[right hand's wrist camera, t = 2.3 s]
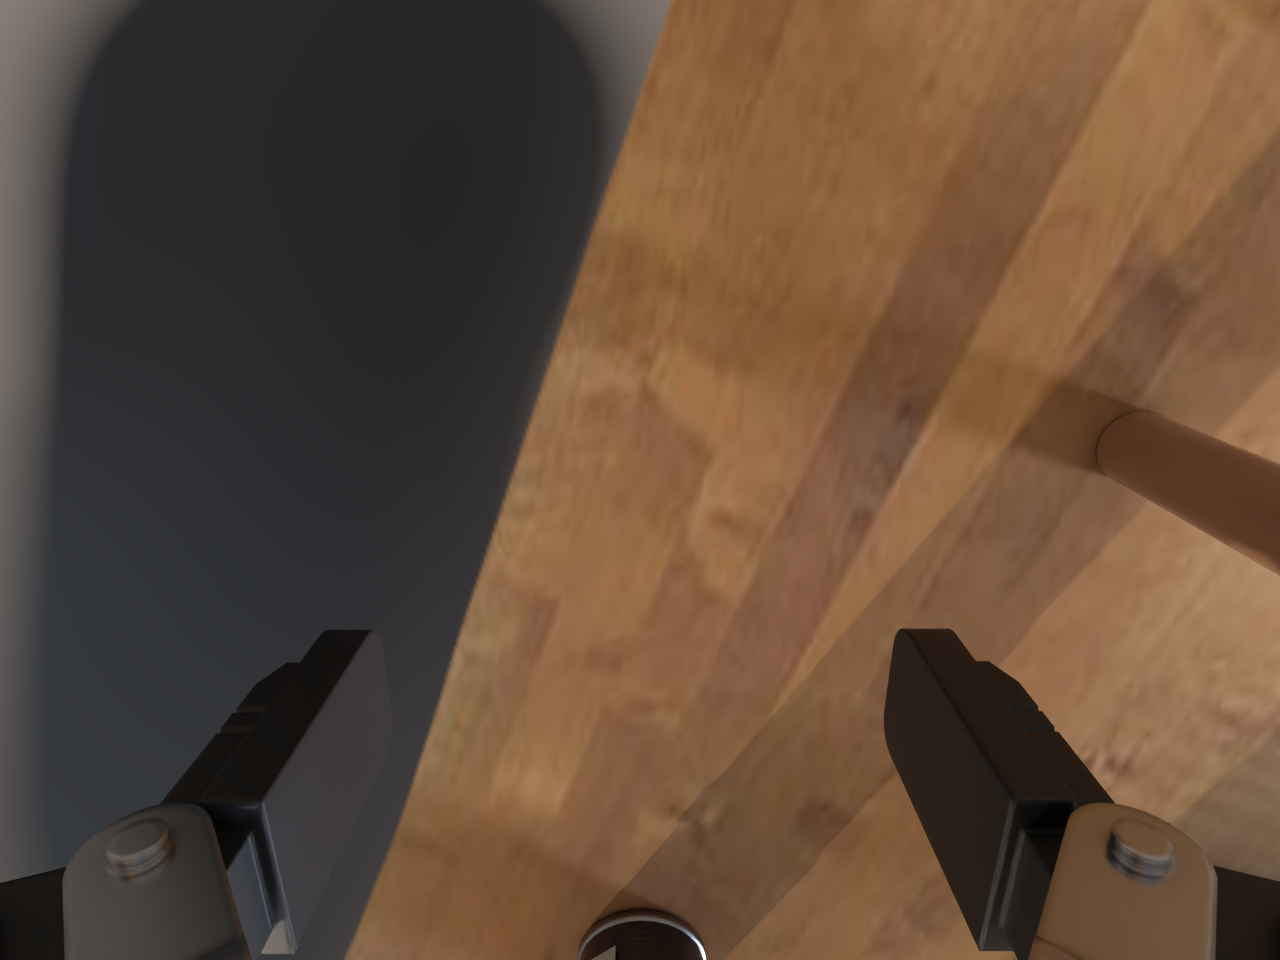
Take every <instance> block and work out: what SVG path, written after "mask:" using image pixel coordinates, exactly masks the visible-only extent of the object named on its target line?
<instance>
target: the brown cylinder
mask: <svg viewBox="0 0 1280 960" xmlns="http://www.w3.org/2000/svg"><path fill="white" fill-rule="evenodd" d="M1096 457H1097V462H1098V465H1099V467H1100V469H1101V470H1102V471H1103V473H1104V474H1106V475H1107V476H1108V477H1110V478H1112V479H1113V480H1115V481H1117V482H1118V483H1120V484H1122V485H1124V486H1125V487H1127V488H1129V489H1131V490H1132V491H1134V492H1136V493H1137V494H1139V495H1141V496H1143V497H1144V498H1146V499H1148V500H1149V501H1151V502H1153V503H1155V504H1156V505H1158V506H1160V507H1162V508H1163V509H1165V510H1167V511H1168V512H1170V513H1172V514H1174V515H1175V516H1177V517H1179V518H1181V519H1182V520H1184V521H1186V522H1187V523H1189V524H1191V525H1193V526H1194V527H1196V528H1198V529H1199V530H1201V531H1203V532H1205V533H1206V534H1208V535H1210V536H1212V537H1213V538H1215V539H1217V540H1218V541H1220V542H1222V543H1224V544H1225V545H1227V546H1229V547H1231V548H1232V549H1234V550H1236V551H1237V552H1239V553H1241V554H1243V555H1244V556H1246V557H1248V558H1249V559H1251V560H1253V561H1255V562H1256V563H1258V564H1260V565H1262V566H1263V567H1265V568H1267V569H1268V570H1270V571H1272V572H1274V573H1275V574H1277V575H1279V576H1280V464H1279V463H1277V462H1274V461H1272V460H1269V459H1267V458H1264V457H1262V456H1259V455H1257V454H1254V453H1252V452H1249V451H1247V450H1244V449H1242V448H1240V447H1237V446H1235V445H1232V444H1230V443H1227V442H1225V441H1222V440H1220V439H1217V438H1215V437H1212V436H1210V435H1207V434H1205V433H1202V432H1200V431H1198V430H1195V429H1193V428H1190V427H1188V426H1185V425H1183V424H1180V423H1178V422H1175V421H1173V420H1170V419H1168V418H1165V417H1163V416H1160V415H1158V414H1155V413H1152V412H1148V411H1138V412H1132V413H1129V414H1126V415H1124V416H1122V417H1120V418H1118V419H1117V420H1115V421H1114V422H1113V423H1111V424H1110V425H1109V426H1108V427H1107V428H1106V430H1105V431H1104V432H1103V434H1102V435H1101V437H1100V439H1099V442H1098V445H1097V450H1096Z"/></svg>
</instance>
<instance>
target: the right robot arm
mask: <svg viewBox="0 0 1280 960" xmlns="http://www.w3.org/2000/svg"><path fill="white" fill-rule="evenodd" d="M884 730H885V737H886V743H887V747H888V750H889V753H890V755H891V758H892V760H893V762H894V764H895V767H896V769H897V771H898V773H899V775H900V777H901V780H902V782H903V784H904V786H905V788H906V791H907V793H908V795H909V797H910V799H911V802H912V804H913V806H914V808H915V810H916V813H917V815H918V817H919V819H920V821H921V824H922V826H923V828H924V830H925V832H926V835H927V837H928V839H929V841H930V843H931V846H932V848H933V850H934V852H935V854H936V857H937V859H938V861H939V863H940V865H941V868H942V870H943V872H944V874H945V876H946V879H947V881H948V883H949V885H950V887H951V889H952V892H953V894H954V896H955V898H956V900H957V903H958V905H959V907H960V909H961V911H962V914H963V916H964V918H965V920H966V922H967V925H968V927H969V929H970V931H971V933H972V936H973V938H974V940H975V942H976V944H977V947H978V949H979V951H1014V952H1015V954H1016V956H1017V958H1018V960H1280V882H1278V881H1274V880H1270V879H1266V878H1262V877H1257V876H1253V875H1249V874H1245V873H1241V872H1237V871H1233V870H1228V869H1224V868H1220V867H1216V866H1213V865H1212V863H1211V862H1210V860H1209V859H1208V857H1207V856H1206V855H1205V853H1204V852H1203V851H1202V850H1201V848H1200V847H1199V846H1197V845H1196V844H1195V843H1194V842H1193V841H1192V840H1191V839H1190V838H1189V837H1187V836H1186V835H1185V834H1184V833H1182V832H1181V831H1180V830H1178V829H1177V828H1175V827H1174V826H1172V825H1171V824H1169V823H1167V822H1165V821H1163V820H1162V819H1160V818H1158V817H1156V816H1153V815H1151V814H1149V813H1147V812H1144V811H1141V810H1138V809H1136V808H1132V807H1128V806H1124V805H1120V804H1115V803H1114V801H1113V800H1112V799H1111V798H1110V796H1109V795H1108V794H1107V793H1106V791H1105V790H1104V789H1103V787H1102V786H1101V785H1100V784H1099V782H1098V781H1097V780H1096V779H1095V777H1094V776H1093V775H1092V774H1091V772H1090V771H1089V770H1088V769H1087V767H1086V766H1085V765H1084V764H1083V762H1082V761H1081V760H1080V759H1079V757H1078V756H1077V755H1076V753H1075V752H1074V751H1073V750H1072V748H1071V747H1070V746H1069V745H1068V743H1067V742H1066V741H1065V740H1064V738H1063V737H1062V736H1061V735H1060V733H1059V732H1055V731H1054V726H1053V725H1052V723H1051V722H1050V721H1049V720H1048V718H1047V717H1046V716H1045V714H1044V713H1043V712H1042V711H1038V706H1037V704H1036V703H1035V702H1034V701H1033V699H1032V698H1031V697H1030V696H1029V694H1028V693H1027V692H1026V691H1025V689H1024V688H1023V687H1022V686H1021V684H1020V683H1019V682H1018V681H1016V680H1015V679H1014V678H1012V677H1011V676H1009V675H1008V674H1006V673H1005V672H1003V671H1002V670H1000V669H999V668H997V667H996V666H995V665H993V664H992V663H990V662H989V661H975V660H974V658H973V657H972V655H971V654H970V653H969V651H968V650H967V649H966V647H965V646H964V645H963V643H962V642H961V641H960V639H959V638H958V636H957V635H956V634H955V633H954V632H953V631H952V630H951V629H900V630H899V631H898V632H897V634H896V636H895V639H894V645H893V652H892V659H891V666H890V674H889V681H888V688H887V695H886V702H885V710H884ZM391 734H392V709H391V702H390V695H389V688H388V681H387V674H386V667H385V659H384V652H383V646H382V640H381V637H380V635H379V633H378V632H377V631H376V630H326V631H324V632H323V633H322V634H321V635H320V636H319V637H318V639H317V640H316V641H315V643H314V644H313V645H312V647H311V648H310V650H309V651H308V652H307V654H306V655H305V656H304V658H303V659H302V660H301V662H300V663H286V664H285V665H283V666H282V667H280V668H279V669H277V670H276V671H274V672H273V673H272V674H270V675H268V676H267V677H266V678H264V679H263V680H261V681H260V682H258V683H257V684H256V685H255V686H254V688H253V689H252V690H251V691H250V692H249V694H248V695H247V696H246V697H245V699H244V700H243V701H242V702H241V704H240V705H239V706H238V707H237V712H236V713H233V714H232V715H231V716H230V717H229V719H228V720H227V721H226V722H225V724H224V725H223V726H222V727H221V732H220V734H216V735H215V736H214V737H213V739H212V740H211V741H210V742H209V744H208V745H207V746H206V747H205V749H204V750H203V751H202V752H201V754H200V755H199V756H198V757H197V759H196V760H195V761H194V762H193V764H192V765H191V766H190V767H189V769H188V770H187V771H186V772H185V774H184V775H183V776H182V777H181V779H180V780H179V781H178V782H177V784H176V785H175V786H174V787H173V788H172V790H171V791H170V792H169V794H168V795H167V796H166V797H165V798H164V800H163V801H162V802H161V803H160V805H156V806H152V807H148V808H145V809H142V810H139V811H136V812H133V813H131V814H129V815H127V816H124V817H122V818H120V819H118V820H117V821H115V822H113V823H111V824H109V825H108V826H106V827H105V828H103V829H102V830H100V831H99V832H98V833H96V834H95V835H94V836H93V837H91V838H90V839H89V840H88V841H87V842H86V843H85V844H84V845H83V846H81V847H80V848H79V850H78V851H77V852H76V853H75V855H74V856H73V857H72V859H71V860H70V862H69V863H68V865H67V867H63V868H60V869H57V870H53V871H48V872H45V873H41V874H36V875H32V876H28V877H24V878H19V879H15V880H11V881H7V882H3V883H0V960H257V959H258V958H259V956H260V954H295V953H296V951H297V948H298V946H299V944H300V942H301V940H302V938H303V935H304V933H305V931H306V929H307V927H308V925H309V922H310V920H311V918H312V916H313V914H314V912H315V909H316V907H317V905H318V903H319V901H320V898H321V896H322V894H323V892H324V890H325V888H326V886H327V883H328V881H329V879H330V877H331V875H332V873H333V870H334V868H335V866H336V864H337V862H338V859H339V857H340V855H341V853H342V851H343V849H344V846H345V844H346V842H347V840H348V838H349V836H350V833H351V831H352V829H353V827H354V825H355V823H356V820H357V818H358V816H359V814H360V812H361V810H362V807H363V805H364V803H365V801H366V799H367V797H368V794H369V792H370V790H371V788H372V786H373V783H374V781H375V779H376V777H377V775H378V773H379V770H380V768H381V766H382V764H383V762H384V760H385V757H386V755H387V752H388V749H389V745H390V740H391ZM578 960H706V953H705V947H704V944H703V942H702V939H701V938H700V936H699V935H698V933H697V932H696V931H695V930H694V929H693V928H692V927H691V926H690V925H688V924H687V923H685V922H684V921H682V920H681V919H679V918H677V917H674V916H672V915H669V914H666V913H662V912H657V911H650V910H634V911H627V912H622V913H618V914H615V915H612V916H609V917H607V918H605V919H603V920H601V921H600V922H598V923H597V924H595V925H594V926H593V927H592V928H591V929H590V930H589V931H588V932H587V933H586V934H585V936H584V937H583V939H582V941H581V943H580V946H579V951H578Z"/></svg>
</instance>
